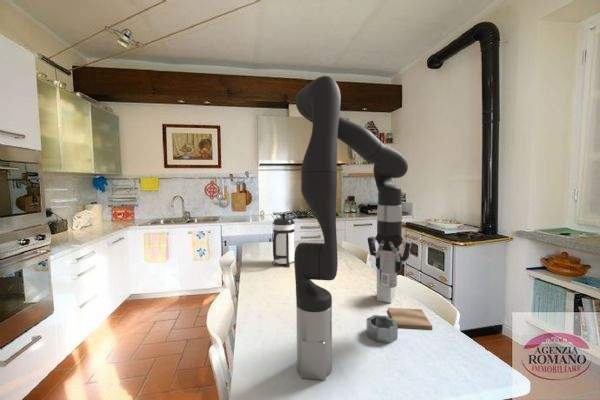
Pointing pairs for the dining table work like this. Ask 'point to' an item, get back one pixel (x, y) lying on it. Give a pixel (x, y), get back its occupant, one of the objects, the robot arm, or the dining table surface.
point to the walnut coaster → (410, 318)
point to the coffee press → (283, 240)
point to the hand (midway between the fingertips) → (388, 270)
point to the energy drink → (388, 269)
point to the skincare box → (384, 291)
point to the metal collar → (382, 329)
